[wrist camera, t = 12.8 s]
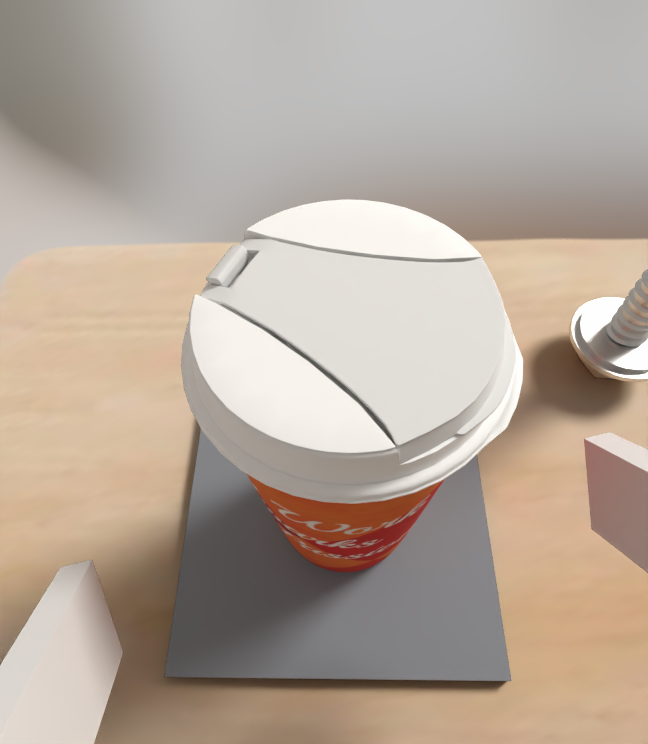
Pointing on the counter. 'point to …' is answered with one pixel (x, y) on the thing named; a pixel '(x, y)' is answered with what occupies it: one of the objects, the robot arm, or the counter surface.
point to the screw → (614, 335)
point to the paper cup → (350, 370)
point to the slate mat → (333, 593)
